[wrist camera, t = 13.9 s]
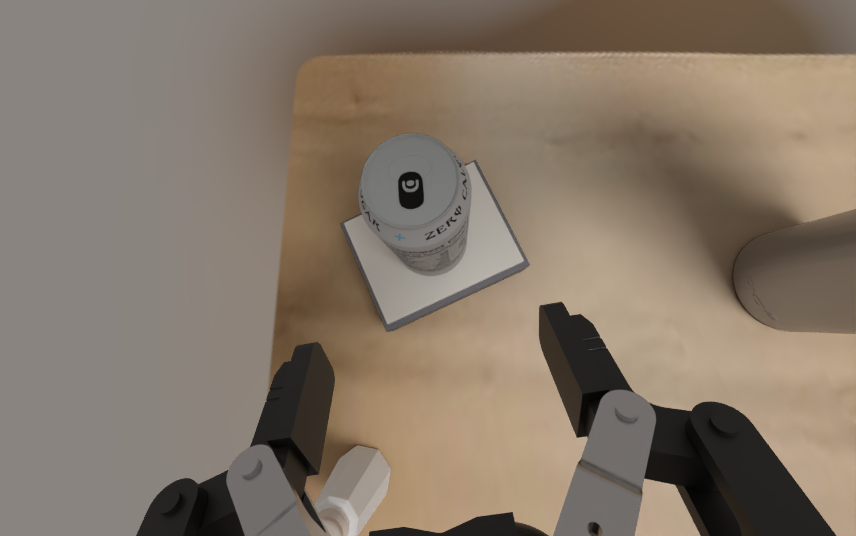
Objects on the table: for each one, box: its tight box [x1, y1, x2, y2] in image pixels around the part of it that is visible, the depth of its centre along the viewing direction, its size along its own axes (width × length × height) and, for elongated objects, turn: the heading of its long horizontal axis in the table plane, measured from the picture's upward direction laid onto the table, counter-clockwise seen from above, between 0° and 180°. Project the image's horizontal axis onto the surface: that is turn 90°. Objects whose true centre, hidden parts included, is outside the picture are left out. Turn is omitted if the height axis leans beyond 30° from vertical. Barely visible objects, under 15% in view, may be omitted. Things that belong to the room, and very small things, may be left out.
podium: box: [340, 160, 530, 332], centre depth 35 cm, size 14×11×4 cm
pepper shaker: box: [314, 445, 391, 536], centre depth 29 cm, size 5×5×11 cm
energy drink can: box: [358, 133, 472, 276], centre depth 25 cm, size 6×6×15 cm
